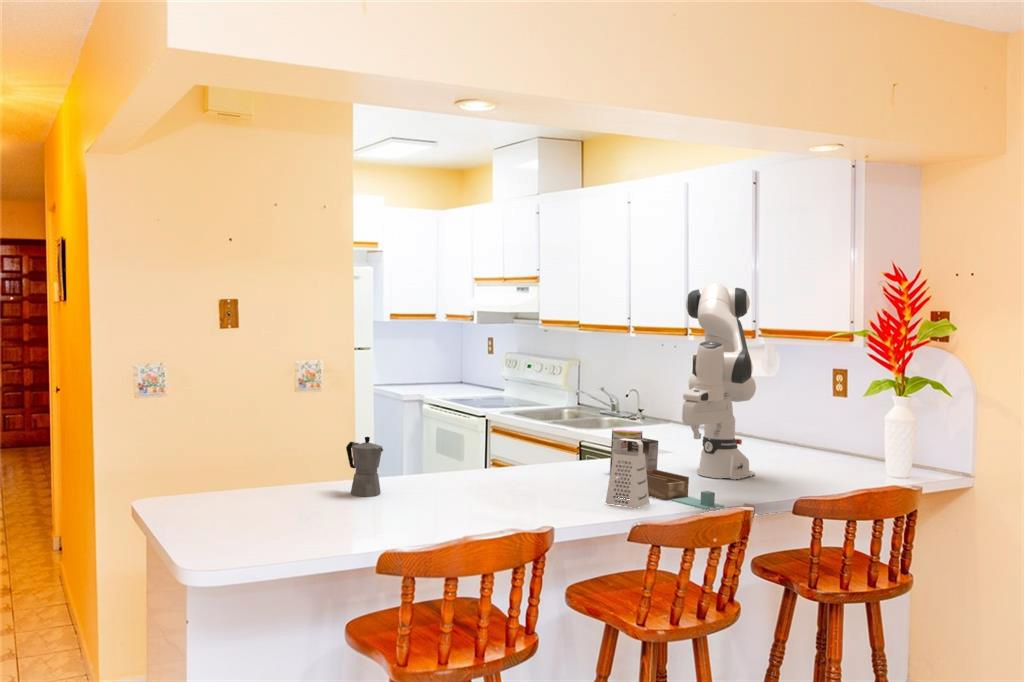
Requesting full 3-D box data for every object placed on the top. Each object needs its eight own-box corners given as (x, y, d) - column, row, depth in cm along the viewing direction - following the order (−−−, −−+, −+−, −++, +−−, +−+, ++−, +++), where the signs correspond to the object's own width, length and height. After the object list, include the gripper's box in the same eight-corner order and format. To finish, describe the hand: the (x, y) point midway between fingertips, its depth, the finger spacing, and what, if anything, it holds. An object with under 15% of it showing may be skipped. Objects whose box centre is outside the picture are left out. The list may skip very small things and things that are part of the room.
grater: (636, 509, 275) (639, 443, 275) (605, 504, 280) (607, 440, 280) (649, 503, 284) (651, 439, 284) (618, 498, 290) (620, 436, 289)
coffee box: (624, 484, 313) (626, 438, 313) (635, 482, 318) (637, 436, 318) (646, 488, 307) (648, 441, 307) (657, 486, 312) (659, 440, 311)
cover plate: (689, 499, 294) (689, 484, 294) (724, 508, 283) (724, 492, 282) (671, 502, 289) (671, 487, 289) (706, 511, 278) (706, 495, 277)
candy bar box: (609, 475, 330) (611, 430, 329) (609, 472, 335) (611, 428, 334) (640, 477, 329) (642, 432, 328) (640, 474, 334) (642, 430, 333)
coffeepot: (391, 494, 283) (393, 437, 283) (370, 499, 276) (371, 440, 275) (356, 487, 292) (358, 432, 292) (334, 492, 285) (336, 435, 284)
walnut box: (652, 487, 309) (653, 468, 309) (687, 496, 296) (688, 477, 296) (629, 490, 302) (629, 471, 302) (664, 500, 290) (665, 479, 289)
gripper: (722, 391, 292) (721, 434, 293) (679, 394, 280) (677, 438, 280) (738, 393, 287) (736, 436, 288) (695, 396, 275) (693, 441, 275)
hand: (707, 437), depth 284 cm, fingers open, 8 cm apart
